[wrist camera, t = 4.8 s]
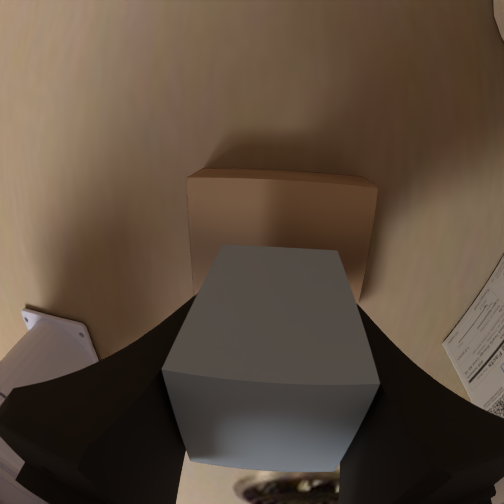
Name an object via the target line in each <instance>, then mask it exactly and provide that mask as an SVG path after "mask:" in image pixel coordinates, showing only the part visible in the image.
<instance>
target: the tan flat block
mask: <svg viewBox="0 0 504 504" xmlns="http://www.w3.org/2000/svg"><path fill="white" fill-rule="evenodd" d="M377 195H378V188H377V187H376V186H375V185H373V184H372V183H371V182H369V181H368V180H367V179H365V178H364V177H359V176H349V175H338V174H327V173H314V172H300V171H283V170H261V169H220V168H203V169H201V170H199V171H197V172H196V173H194V174H192V175H190V176H188V177H187V201H188V221H189V237H190V252H191V266H192V278H193V289H194V296H195V295H196V294H197V293H198V292H199V290H200V288H201V286H202V284H203V282H204V280H205V278H206V276H207V274H208V272H209V270H210V268H211V266H212V264H213V262H214V260H215V258H216V256H217V254H218V252H219V250H220V248H221V246H222V244H229V245H248V246H266V247H284V248H302V249H320V250H337V251H338V253H339V256H340V259H341V262H342V264H343V267H344V270H345V273H346V275H347V278H348V281H349V284H350V287H351V290H352V293H353V296H354V299H355V302H356V303H357V304H358V302H359V298H360V293H361V289H362V284H363V279H364V274H365V269H366V264H367V259H368V253H369V248H370V242H371V236H372V230H373V224H374V217H375V210H376V203H377Z"/></svg>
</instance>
